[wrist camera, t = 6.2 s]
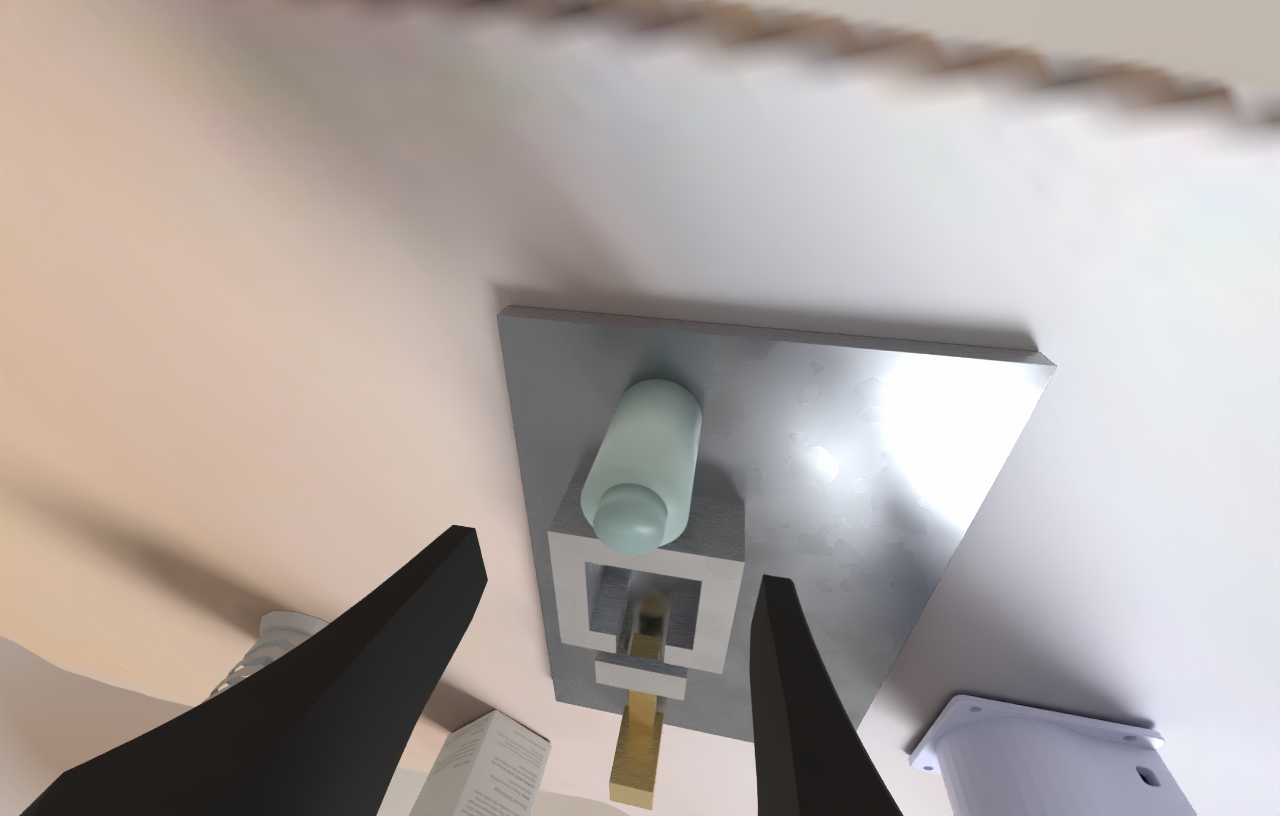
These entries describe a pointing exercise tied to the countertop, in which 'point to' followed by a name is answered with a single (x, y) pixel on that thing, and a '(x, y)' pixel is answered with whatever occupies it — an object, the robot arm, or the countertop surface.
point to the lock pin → (638, 739)
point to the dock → (755, 496)
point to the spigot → (645, 469)
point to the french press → (273, 643)
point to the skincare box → (485, 771)
